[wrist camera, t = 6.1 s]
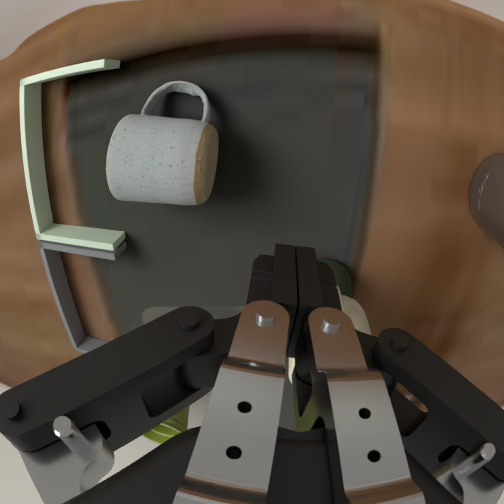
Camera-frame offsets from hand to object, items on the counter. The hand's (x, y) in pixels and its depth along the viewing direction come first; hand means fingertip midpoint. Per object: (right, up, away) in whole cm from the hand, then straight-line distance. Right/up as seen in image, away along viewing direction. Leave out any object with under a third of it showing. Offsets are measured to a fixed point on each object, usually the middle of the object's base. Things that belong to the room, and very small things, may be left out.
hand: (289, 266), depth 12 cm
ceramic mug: (-8, +11, +15) cm, 21 cm away
